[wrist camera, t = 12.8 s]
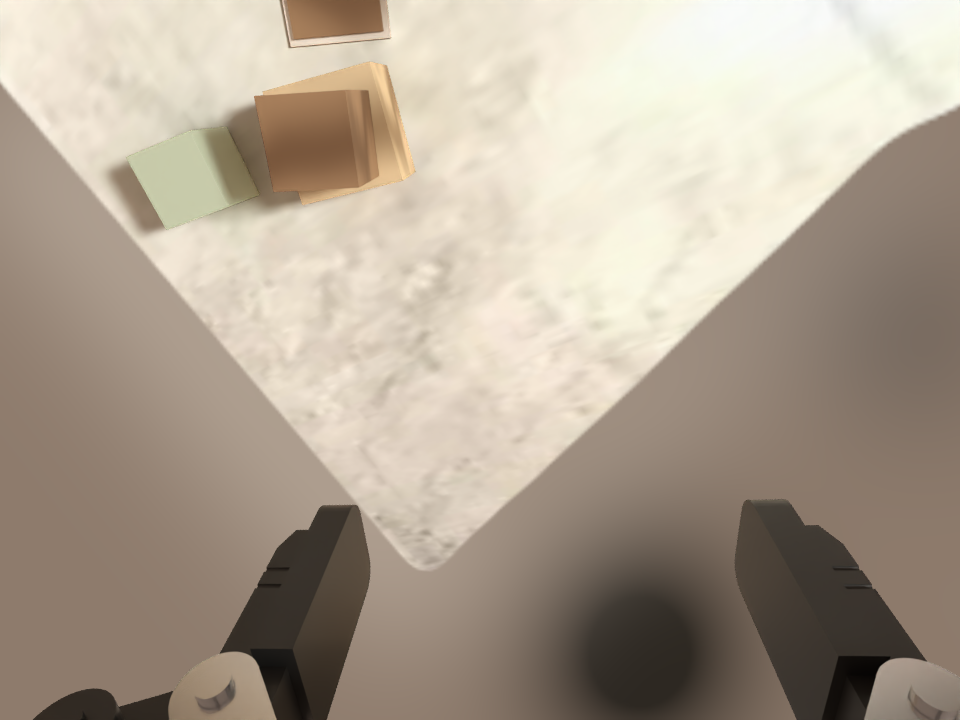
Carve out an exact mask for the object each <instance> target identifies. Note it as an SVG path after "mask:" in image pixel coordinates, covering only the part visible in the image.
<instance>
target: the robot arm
mask: <svg viewBox="0 0 960 720" xmlns="http://www.w3.org/2000/svg"><path fill="white" fill-rule="evenodd" d="M735 571H736V578H737V582H738V586H739V589H740V591H741V594H742V596H743V598H744V601H745V603H746V605H747V607H748V610H749V612H750V614H751V616H752V619H753V621H754V623H755V626H756V628H757V630H758V632H759V635H760V637H761V639H762V642H763V644H764V646H765V648H766V651H767V653H768V655H769V657H770V660H771V662H772V664H773V667H774V669H775V671H776V673H777V676H778V678H779V680H780V682H781V685H782V687H783V689H784V692H785V694H786V696H787V699H788V701H789V703H790V705H791V707H792V710H793V712H794V714H795V717H796V719H797V720H960V678H959V677H958V676H956V675H955V674H953V673H951V672H950V671H948V670H946V669H944V668H942V667H940V666H937V665H935V664H932V663H930V662H927V661H926V660H925V658H924V657H923V655H922V654H921V653H920V651H919V650H918V648H917V647H916V646H915V644H914V643H913V641H912V640H911V639H910V637H909V636H908V634H907V633H906V632H905V630H904V629H903V627H902V626H901V625H900V623H899V622H898V620H897V619H896V618H895V616H894V615H893V613H892V612H891V611H890V609H889V608H888V606H887V605H886V604H885V602H884V601H883V600H882V598H881V597H880V595H879V594H878V592H877V591H876V590H875V589H872V584H871V583H870V581H869V580H868V578H867V577H866V576H865V574H864V573H863V571H860V570H859V566H858V564H857V563H856V562H855V560H854V559H853V557H852V556H851V555H850V553H849V552H848V550H847V549H846V548H845V546H844V545H843V544H842V543H841V542H840V541H838V540H837V539H836V538H834V537H833V536H832V535H830V534H829V533H828V532H826V531H825V530H824V529H823V528H821V527H820V526H819V525H811V526H810V525H808V526H805V525H804V523H803V522H802V521H801V519H800V517H799V516H798V514H797V513H796V511H795V510H794V508H793V507H792V505H791V504H790V503H789V502H788V501H787V500H784V499H778V500H746V501H745V502H744V504H743V507H742V512H741V519H740V526H739V534H738V540H737V547H736V554H735ZM369 580H370V558H369V553H368V548H367V543H366V538H365V533H364V528H363V523H362V518H361V513H360V510H359V508H358V506H357V505H323V506H321V507H320V508H319V510H318V512H317V514H316V516H315V518H314V520H313V522H312V524H311V526H310V528H309V530H296V531H295V532H294V533H293V534H292V535H291V536H289V537H288V538H287V539H286V540H285V541H284V542H283V543H282V544H281V545H280V546H279V547H278V548H277V550H276V551H275V553H274V555H273V557H272V559H271V560H270V563H269V564H268V566H267V571H266V572H264V573H263V575H262V577H261V579H260V581H259V583H258V587H257V588H256V589H255V590H254V592H253V594H252V596H251V597H250V599H249V601H248V603H247V605H246V607H245V608H244V610H243V612H242V614H241V616H240V617H239V619H238V621H237V623H236V625H235V627H234V628H233V630H232V632H231V634H230V636H229V638H228V639H227V641H226V643H225V645H224V647H223V649H222V650H221V652H220V654H219V655H215V656H213V657H211V658H208V659H206V660H204V661H203V662H201V663H200V664H198V665H197V666H195V667H194V668H193V669H191V670H190V671H189V672H188V673H187V674H186V675H185V676H184V677H183V678H182V680H181V681H180V682H179V683H178V685H177V686H176V688H175V689H174V691H171V692H169V693H165V694H162V695H159V696H155V697H152V698H149V699H145V700H141V701H138V702H134V703H131V704H127V705H124V706H120V707H118V705H117V703H116V701H115V699H114V697H113V696H112V695H111V694H110V693H109V692H108V691H106V690H102V689H86V690H82V691H78V692H75V693H73V694H70V695H68V696H66V697H64V698H62V699H60V700H58V701H56V702H55V703H53V704H51V705H50V706H49V707H47V708H46V709H45V710H43V711H42V712H41V713H40V714H39V715H37V716H36V717H35V718H34V719H33V720H327V717H328V714H329V711H330V707H331V704H332V701H333V698H334V694H335V692H336V688H337V685H338V682H339V679H340V675H341V672H342V669H343V666H344V663H345V660H346V657H347V653H348V650H349V647H350V644H351V641H352V638H353V634H354V631H355V628H356V625H357V622H358V619H359V616H360V612H361V609H362V606H363V603H364V600H365V597H366V593H367V590H368V586H369Z"/></svg>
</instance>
